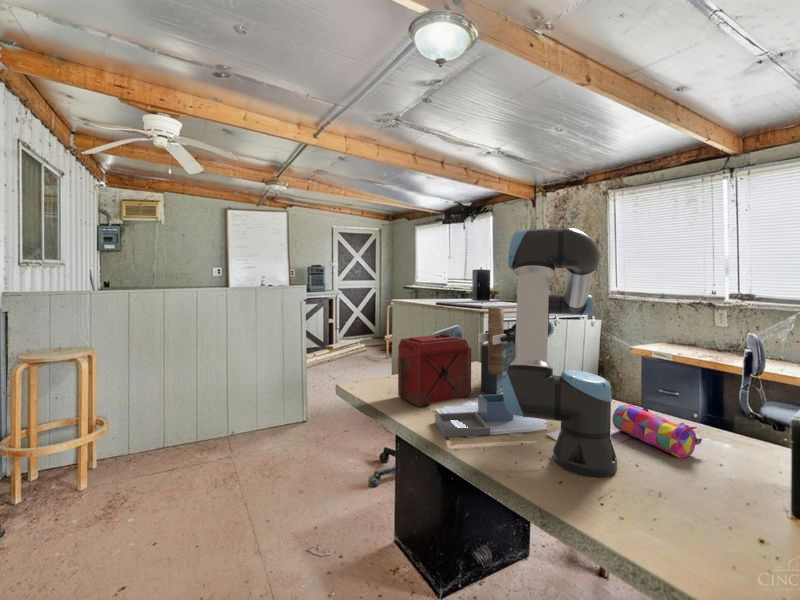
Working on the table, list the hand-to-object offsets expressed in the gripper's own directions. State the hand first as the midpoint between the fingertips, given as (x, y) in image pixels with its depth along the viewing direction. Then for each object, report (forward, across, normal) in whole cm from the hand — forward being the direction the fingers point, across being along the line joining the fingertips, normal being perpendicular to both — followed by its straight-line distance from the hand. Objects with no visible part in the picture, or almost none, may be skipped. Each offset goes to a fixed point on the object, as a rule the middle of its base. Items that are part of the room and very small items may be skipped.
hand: (486, 339), depth 128 cm
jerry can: (-6, +30, -28) cm, 42 cm away
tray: (+11, +2, -28) cm, 30 cm away
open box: (-5, 0, -28) cm, 28 cm away
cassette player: (-41, +21, -28) cm, 54 cm away
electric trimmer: (-40, -33, -28) cm, 59 cm away
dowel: (-5, 0, -12) cm, 13 cm away
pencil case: (-23, -42, -28) cm, 56 cm away
